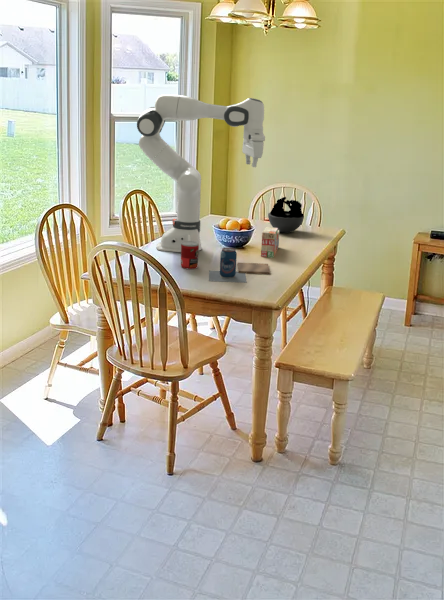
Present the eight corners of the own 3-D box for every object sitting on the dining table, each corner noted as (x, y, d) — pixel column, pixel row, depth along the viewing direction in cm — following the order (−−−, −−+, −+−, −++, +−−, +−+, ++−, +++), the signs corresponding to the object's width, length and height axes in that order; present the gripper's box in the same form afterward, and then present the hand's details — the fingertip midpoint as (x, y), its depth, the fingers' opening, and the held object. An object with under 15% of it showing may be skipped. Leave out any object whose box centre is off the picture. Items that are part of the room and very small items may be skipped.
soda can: (220, 278, 291) (222, 251, 288) (218, 273, 298) (219, 247, 294) (236, 278, 292) (238, 251, 289) (234, 273, 299) (235, 247, 295)
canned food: (191, 270, 302) (192, 246, 299) (177, 266, 306) (177, 243, 302) (201, 266, 308) (202, 242, 305) (186, 263, 312) (187, 240, 309)
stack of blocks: (266, 246, 350) (268, 223, 346) (278, 247, 349) (280, 224, 345) (260, 256, 330) (262, 231, 326) (273, 258, 329) (275, 233, 325)
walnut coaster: (238, 273, 301) (238, 270, 301) (237, 264, 314) (237, 262, 314) (270, 274, 301) (270, 272, 301) (267, 265, 315) (267, 263, 314)
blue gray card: (208, 281, 287) (208, 280, 287) (209, 270, 303) (209, 270, 303) (246, 282, 288) (246, 282, 288) (245, 272, 303) (245, 271, 303)
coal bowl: (299, 237, 372) (302, 203, 366) (263, 233, 377) (265, 200, 371) (305, 230, 390) (308, 197, 384) (271, 226, 395) (273, 194, 389)
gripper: (240, 132, 321) (238, 162, 326) (252, 137, 303) (250, 168, 307) (252, 133, 323) (250, 162, 327) (266, 137, 304) (264, 168, 309)
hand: (251, 165), depth 317 cm, fingers open, 8 cm apart
